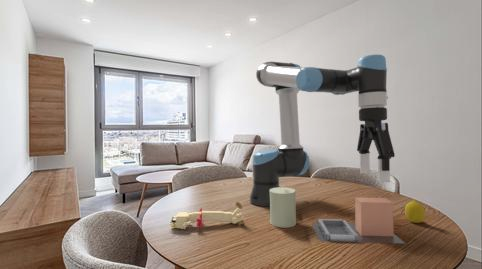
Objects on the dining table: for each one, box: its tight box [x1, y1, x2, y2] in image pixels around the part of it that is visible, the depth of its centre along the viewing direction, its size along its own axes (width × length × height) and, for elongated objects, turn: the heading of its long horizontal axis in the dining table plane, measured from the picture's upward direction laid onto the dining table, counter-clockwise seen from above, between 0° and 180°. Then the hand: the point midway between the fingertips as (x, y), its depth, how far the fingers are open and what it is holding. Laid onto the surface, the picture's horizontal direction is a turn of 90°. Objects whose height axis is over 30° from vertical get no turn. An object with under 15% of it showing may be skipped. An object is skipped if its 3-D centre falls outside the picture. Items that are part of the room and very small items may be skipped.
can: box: [269, 186, 297, 229], centre depth 86 cm, size 9×9×12 cm
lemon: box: [404, 200, 426, 224], centre depth 82 cm, size 6×6×8 cm
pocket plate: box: [311, 218, 406, 245], centre depth 76 cm, size 23×14×2 cm, turn 84°
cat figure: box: [169, 200, 244, 230], centre depth 86 cm, size 10×9×25 cm
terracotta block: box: [354, 197, 395, 236], centre depth 75 cm, size 9×5×10 cm, turn 84°
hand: (373, 177), depth 75 cm, fingers open, 13 cm apart
